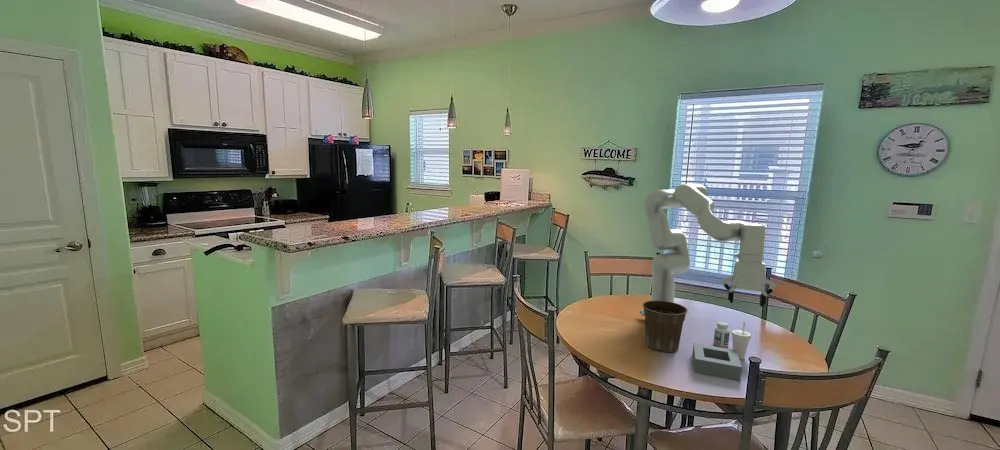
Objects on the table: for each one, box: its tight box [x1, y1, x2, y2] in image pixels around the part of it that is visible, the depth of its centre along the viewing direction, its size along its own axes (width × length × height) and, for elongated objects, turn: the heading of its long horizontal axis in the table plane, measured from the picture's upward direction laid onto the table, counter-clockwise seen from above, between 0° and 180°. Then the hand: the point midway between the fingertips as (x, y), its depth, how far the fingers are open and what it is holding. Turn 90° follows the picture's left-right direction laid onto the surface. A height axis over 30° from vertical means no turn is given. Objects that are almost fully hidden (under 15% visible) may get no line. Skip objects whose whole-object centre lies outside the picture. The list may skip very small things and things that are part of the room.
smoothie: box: [731, 321, 752, 360], centre depth 155 cm, size 6×6×14 cm
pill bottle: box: [713, 321, 730, 348], centre depth 166 cm, size 5×5×9 cm
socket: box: [691, 342, 743, 382], centre depth 147 cm, size 14×14×5 cm
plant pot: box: [642, 300, 688, 353], centre depth 163 cm, size 16×16×16 cm
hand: (746, 303), depth 152 cm, fingers open, 9 cm apart
